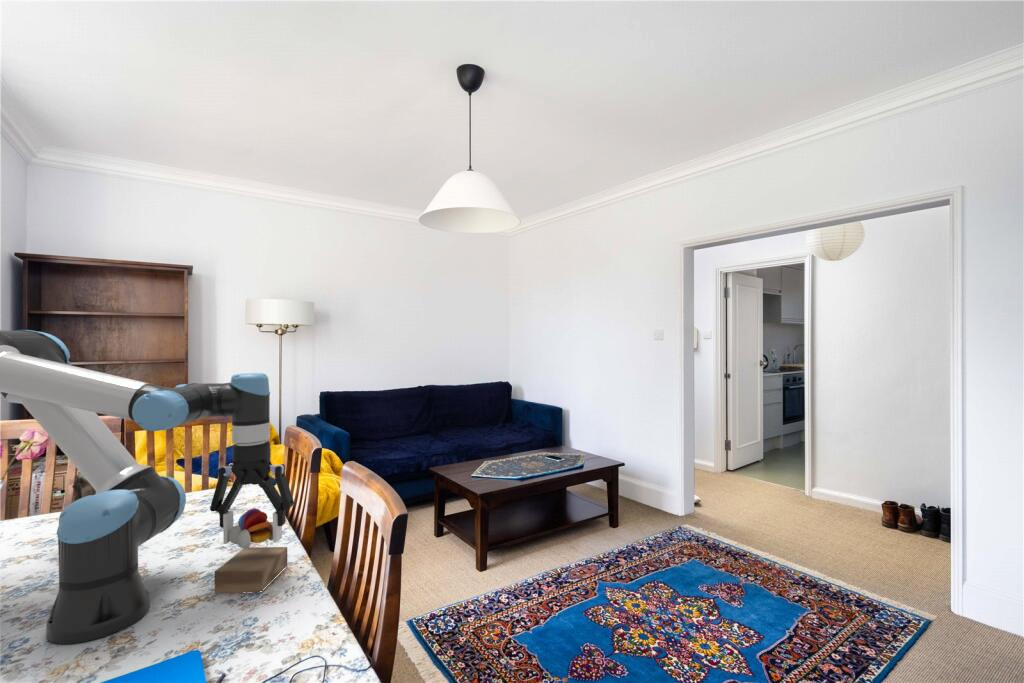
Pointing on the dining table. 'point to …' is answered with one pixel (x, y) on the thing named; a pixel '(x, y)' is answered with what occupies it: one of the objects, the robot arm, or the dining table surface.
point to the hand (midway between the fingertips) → (253, 540)
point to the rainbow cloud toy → (251, 529)
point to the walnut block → (250, 570)
